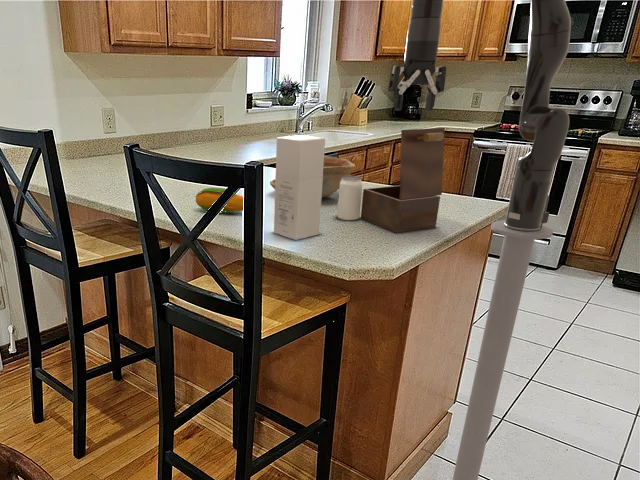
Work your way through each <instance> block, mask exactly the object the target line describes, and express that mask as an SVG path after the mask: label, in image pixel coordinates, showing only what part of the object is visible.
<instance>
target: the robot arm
mask: <svg viewBox="0 0 640 480" xmlns="http://www.w3.org/2000/svg"><path fill="white" fill-rule="evenodd" d="M443 6H444V0H412V2H411V11H410V19H409V23H408V27H407V35H406V44H405V52H404V63H403V65H402V66H400V65H392V66H391V68H390V75H389V81H388V87H387V91H388V92H390V93H393V95H394V99H393V108H394V110H395V111H397V112H401V111H402V109H403V101H404V93H405V92H406V90H407V89H408V88H409V87H410V86H411V85H412V86H416V85H419V86H423V87H424V88H425V90H426V92H427V94H426V99H425V106H424V110H425V111H428V112H429V111H432V110H433V109H434V107H435V102H436V96H437V95H438V94H439V93H443V92H444V91H445V85H446V76H447V67H446V66H445V65H439V66H436V61H437V57H438V49H439V42H440V35H441V29H442V28H441V25H442V15H443ZM529 12H530V13H529V14H530V16H529V27H528V38H527V39H528V40H527V61H526V71H525V72H526V73H525V74H526V75H525V83H524V92H523V98H522V104H521V109H520V115H519V123H518V129H519V134H520V136H521V137H522V138H523V139H524V140H527V141H529V142H533V143H532V147H531V149H530V151H529V152H528V153H526V154H522V155H520V156H519V157H518V160H517V163H516V167H515V172H514V173H515V174H514V178H513V181H512V182H513V183H512V187H511V193H510V196H509V197H510V198H509V201H508V207H507V212H506V216H505V219H504V220H505V223H504V226H505V227H506V228H509V229H512V230H516V231H524V232H534V231H539V230H540V229H541V228H542V225H544V224H547V223H548V222H549V221H548V220H549V217H550V211H547V208H548V204H549V200H550V196H549V191H550V188H551V184H552V180H553V179H552V178H553V174H554V171H555V166H556V164H557V162H558V161H559V159H561V155H562V152H563V149H564V146H565V143H566V140H567V139H566V138H567V135H568V132H569V129H570V115H569V113H568V111H567V110H566V109H564V108H562V107H558V106H550V95H551V88H552V84H553V81H554V79H555V77H556V75H557V74H558V72H559V70H560V68H561V67H562V65H563V63H564V62H565V59H566V58H567V55H568V52H569V48H570V40H571V30H572V18H571V14H570V11H569V7H568V6H567V2H566V0H530V11H529ZM402 74H403V77H402V79H401V80H400V76H401V75H402ZM433 75H435V80H434V79H433ZM399 80H400V82H399Z"/></svg>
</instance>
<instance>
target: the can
mask: <svg viewBox="0 0 640 480" xmlns="http://www.w3.org/2000/svg"><path fill="white" fill-rule="evenodd" d="M338 190H339V191H338V202H337V218H338V219H339V220H341V221H347V222H348V221H349V222H351V221H357V220H359V219H360V216H361V206H362V196H363V181H362V177H361V176H358V175H349V176H343V177H342V180H341V182H340V188H339V189H338Z"/></svg>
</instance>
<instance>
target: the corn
mask: <svg viewBox="0 0 640 480" xmlns="http://www.w3.org/2000/svg"><path fill="white" fill-rule="evenodd" d="M226 189H227V188H223V187H207V188H203V189H202V190H200V191H198V193H197V194H196V195H195V200H194V201H195V203H196V204H197V206H198V207H200V208H201V209H203V210H205V211H208V209H209V208H210V207H211V206H212V204H213V203H214V202H215V201H216V200H217V199H218V198H219V197H220V196H221V195H222V193H223V192H224V191H225V190H226ZM234 194H235V195H234V196H233V197H232V198H231V199H230V201H229V202H228V203H227V205H226V206H225V207H224V209H223V211H221V212H219V213H220V214H233V212H244V211H243V195H240V194H236V193H234ZM225 211H226V212H225Z"/></svg>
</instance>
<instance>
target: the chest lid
mask: <svg viewBox="0 0 640 480" xmlns="http://www.w3.org/2000/svg"><path fill="white" fill-rule="evenodd" d="M445 128H446V127H435V128H434V127H433V128H413V129H402V130H400V131H401V133H400V134H401V135H400V172H399V176H400V177H399V185H400V199H410V198H419V197H428V196H442V194H443V178H444V177H443V176H444V175H443V174H444V151H445V133H446V131H445V130H446V129H445Z"/></svg>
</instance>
